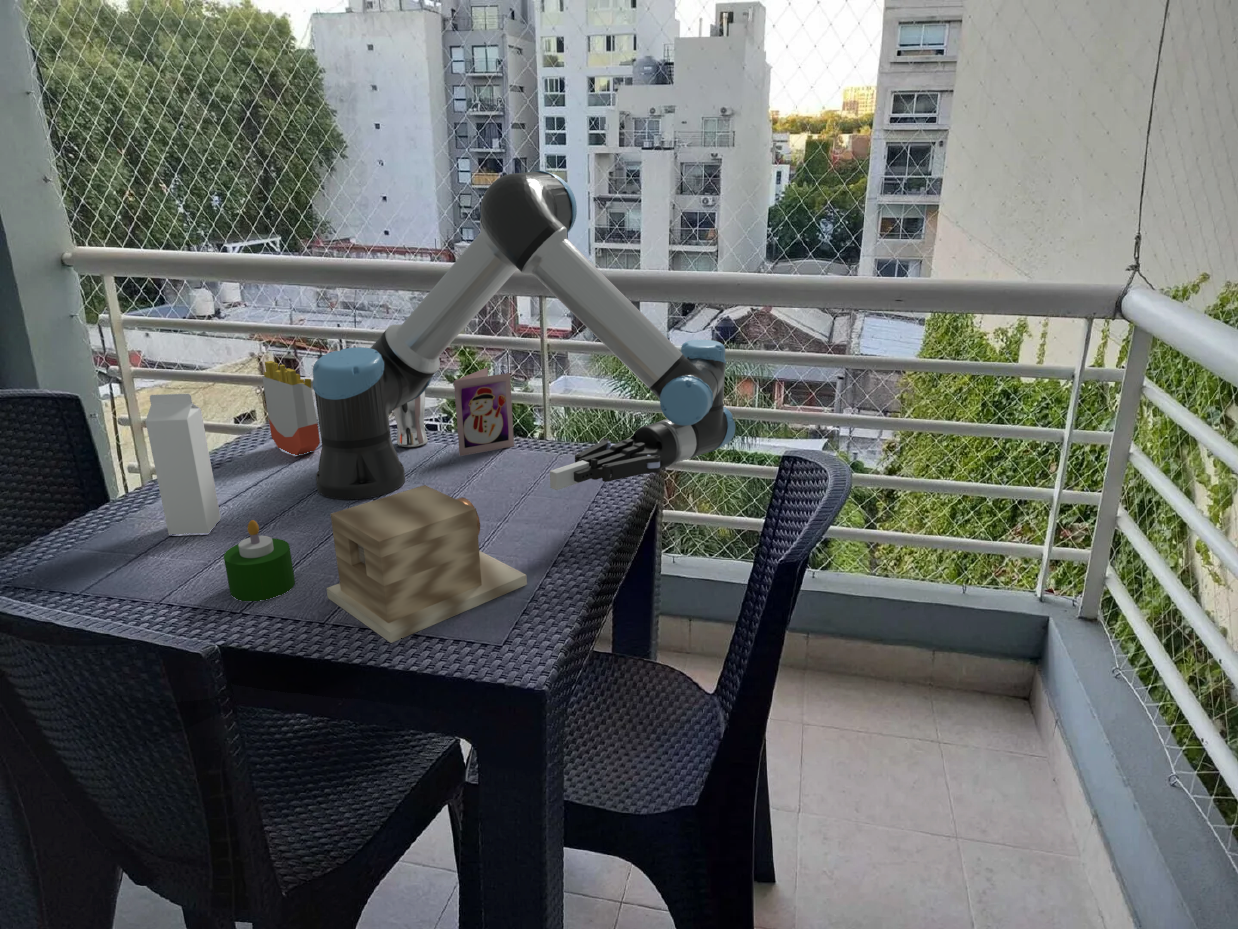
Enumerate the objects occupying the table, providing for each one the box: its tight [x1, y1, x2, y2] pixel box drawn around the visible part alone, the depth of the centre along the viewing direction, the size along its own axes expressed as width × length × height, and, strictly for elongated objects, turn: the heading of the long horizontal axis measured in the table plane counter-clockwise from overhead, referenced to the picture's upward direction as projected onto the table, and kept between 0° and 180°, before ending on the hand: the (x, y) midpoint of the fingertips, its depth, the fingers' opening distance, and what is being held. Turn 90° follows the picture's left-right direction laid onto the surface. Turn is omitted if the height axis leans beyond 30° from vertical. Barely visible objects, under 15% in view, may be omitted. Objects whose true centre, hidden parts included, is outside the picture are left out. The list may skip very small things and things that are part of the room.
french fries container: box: [261, 360, 321, 455], centre depth 170 cm, size 5×11×18 cm, turn 50°
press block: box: [326, 484, 528, 644], centre depth 116 cm, size 21×16×12 cm
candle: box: [223, 519, 296, 602], centre depth 118 cm, size 8×8×10 cm
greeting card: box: [453, 367, 515, 457], centre depth 172 cm, size 11×7×15 cm, turn 120°
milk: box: [145, 393, 222, 535], centre depth 135 cm, size 6×6×22 cm
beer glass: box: [392, 390, 429, 448], centre depth 175 cm, size 7×7×15 cm
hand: (553, 480), depth 129 cm, fingers closed
